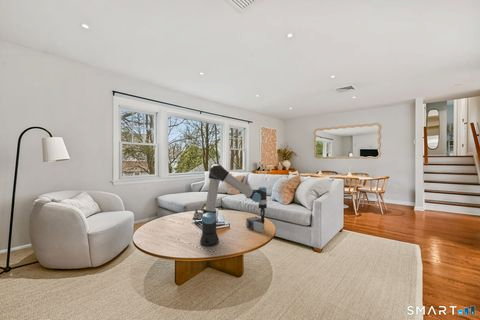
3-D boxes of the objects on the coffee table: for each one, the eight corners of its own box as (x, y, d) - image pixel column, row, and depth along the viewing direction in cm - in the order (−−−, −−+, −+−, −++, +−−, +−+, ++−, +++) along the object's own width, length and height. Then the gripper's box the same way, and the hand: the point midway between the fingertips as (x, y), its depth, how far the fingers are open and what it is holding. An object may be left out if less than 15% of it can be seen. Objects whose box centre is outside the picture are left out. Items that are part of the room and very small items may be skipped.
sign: (212, 224, 227) (217, 206, 227) (212, 225, 224) (217, 207, 223) (192, 218, 225) (198, 201, 225) (192, 219, 222) (197, 201, 222)
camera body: (250, 230, 197) (250, 220, 197) (244, 228, 204) (244, 218, 204) (261, 227, 205) (261, 217, 205) (255, 225, 213) (255, 215, 212)
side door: (252, 230, 197) (251, 221, 197) (253, 230, 199) (253, 221, 198) (263, 233, 190) (263, 224, 189) (264, 233, 191) (264, 223, 191)
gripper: (266, 205, 187) (266, 231, 188) (266, 202, 200) (267, 226, 201) (258, 205, 188) (258, 231, 189) (259, 201, 201) (259, 226, 202)
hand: (262, 228), depth 195 cm, fingers closed
